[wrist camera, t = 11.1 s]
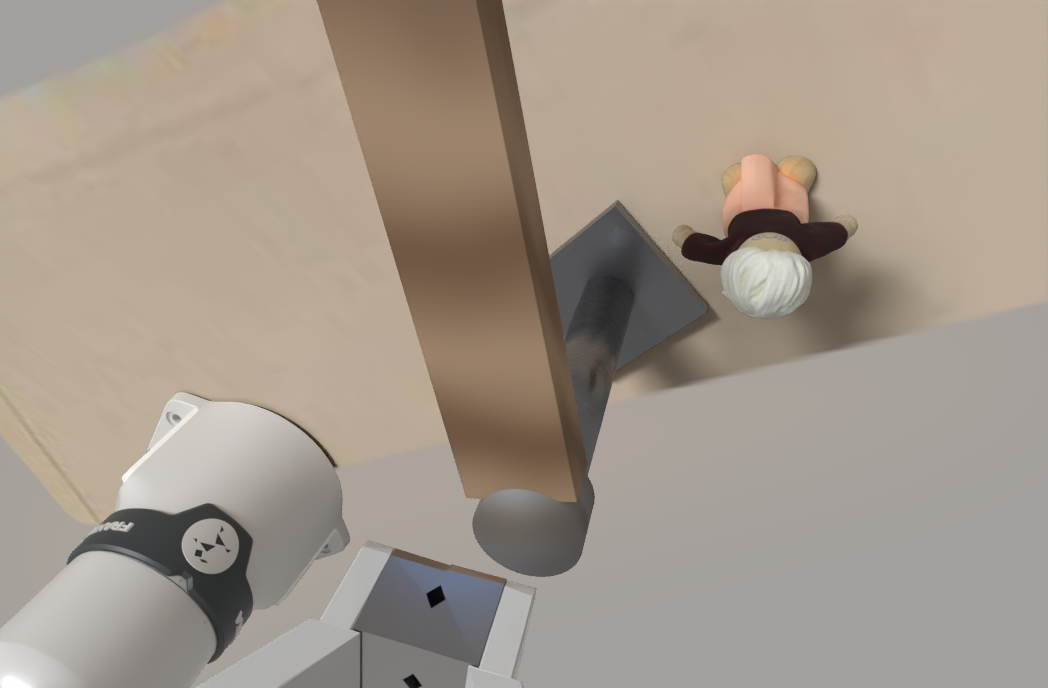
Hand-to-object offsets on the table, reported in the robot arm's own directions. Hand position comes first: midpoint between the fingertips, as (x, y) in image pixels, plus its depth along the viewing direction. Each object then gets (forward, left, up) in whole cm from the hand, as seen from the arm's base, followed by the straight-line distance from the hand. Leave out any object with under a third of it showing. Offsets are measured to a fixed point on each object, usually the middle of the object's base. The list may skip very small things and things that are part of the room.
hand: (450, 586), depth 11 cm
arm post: (-7, -5, -29) cm, 30 cm away
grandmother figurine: (+3, -5, -29) cm, 30 cm away
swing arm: (-2, +1, -11) cm, 12 cm away
